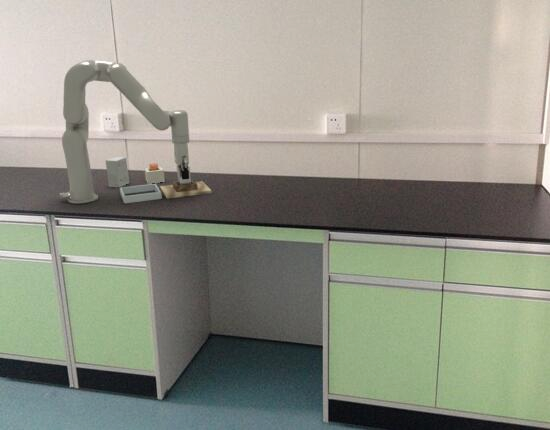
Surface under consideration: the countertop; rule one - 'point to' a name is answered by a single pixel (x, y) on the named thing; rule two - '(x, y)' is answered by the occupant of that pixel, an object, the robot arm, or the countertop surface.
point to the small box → (117, 171)
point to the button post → (154, 175)
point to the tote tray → (140, 196)
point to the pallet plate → (185, 189)
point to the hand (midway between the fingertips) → (183, 176)
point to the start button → (153, 167)
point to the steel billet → (179, 175)
